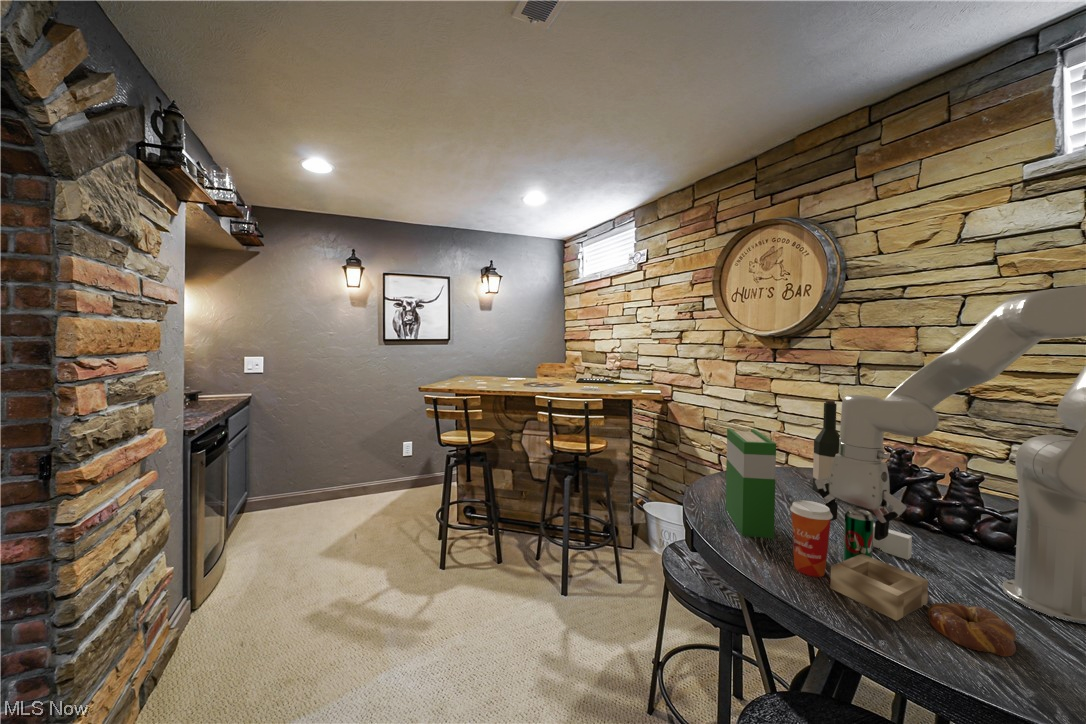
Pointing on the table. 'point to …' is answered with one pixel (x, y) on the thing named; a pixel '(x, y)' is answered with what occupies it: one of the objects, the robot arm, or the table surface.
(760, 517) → the hardback book
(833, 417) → the wine bottle
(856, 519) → the soda can
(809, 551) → the paper cup
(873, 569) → the holder
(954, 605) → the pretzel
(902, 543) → the white stepped block
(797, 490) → the table surface
